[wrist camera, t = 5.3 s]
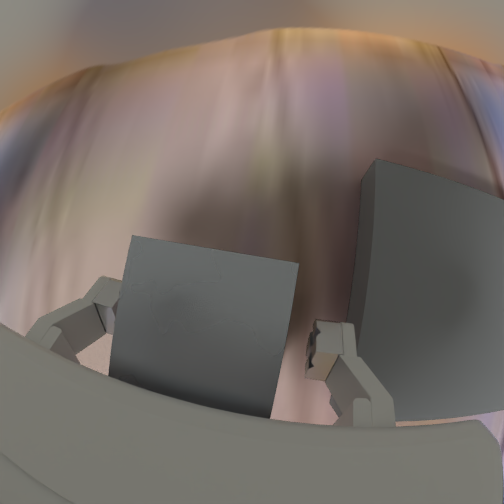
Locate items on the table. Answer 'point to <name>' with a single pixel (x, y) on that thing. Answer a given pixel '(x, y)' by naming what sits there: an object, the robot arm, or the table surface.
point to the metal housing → (203, 324)
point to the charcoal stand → (429, 293)
